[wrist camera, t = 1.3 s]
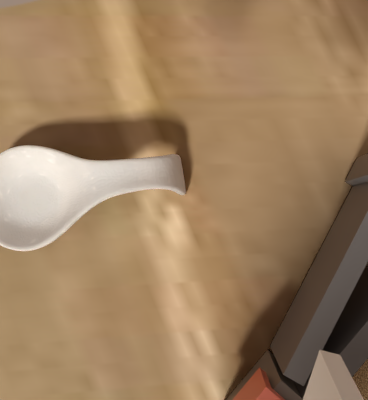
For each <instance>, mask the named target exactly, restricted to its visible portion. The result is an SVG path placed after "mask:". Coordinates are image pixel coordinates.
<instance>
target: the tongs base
mask: <svg viewBox="0 0 368 400" xmlns="http://www.w3.org/2000/svg"><path fill="white" fill-rule="evenodd" d="M323 351H327V352H331V353H335V354H339V355H340V356H341V357H342V359H343V361H344V363H345V365H346V367H347V369H348V371H349V373H350V374H351V376H352V377H353V375H354V374H355V373H356V372H357V371H358V369H359V368H360V367H361V366H362V365H363V364H364V362H365V361H366V360H367V359H368V266H367V267H366V268H365V269H364V270H363V272H362V274H361V276H360V278H359V280H358V282H357V284H356V286H355V288H354V290H353V291H352V293H351V295H350V297H349V299H348V301H347V303H346V305H345V307H344V309H343V311H342V313H341V315H340V317H339V319H338V321H337V323H336V324H335V326H334V328H333V330H332V332H331V334H330V336H329V338H328V340H327V342H326V344H325V346H324V348H323ZM259 367H260V368H261V369H262V370H264V371H265V372H266V374H267V377H268V379H269V382H270V385H271V388H272V389H274V390H275V391H276V392H277V393H278V394H279V395H280V396H281V397H283V398H284V399H285V400H303V397H304V394H305V391H306V388H307V385H308V382H309V380H310V377H311V374H312V371H313V369H312V371H311V373H310V375H309V377H308V379H307V381H306V383H305V385H304V386H302V385H300V384H299V383H297V382H295V381H293V380H292V379H290V378H288V377H286V376H285V375H283V373H282V371H281V369H280V367H279V365H278V362H277V360H276V358H275V356H274V355H273V354H272V353H271V352H270V351H269V350H267V351H266V352H265V353H264V355H263V356H262V357H261V358H260V359H259V361H258V362H257V363H256V364H255V365H254V367H253V368H252V369H251V370H250V371H249V373H248V374H247V375H246V376H245V377H244V379H243V380H242V381H241V382H240V383H239V384H238V386H237V387H236V388H235V389H234V390H233V392H232V393H231V394H230V395H229V396H228V398H227V399H226V400H233V398H234V397H235V396H236V395H237V394H238V392H239V391H240V390H241V389H242V388H243V386H244V385H245V384H246V383H247V382H248V381H249V379H250V378H251V377H252V376H253V375H254V373H255V372H256V371H257V370H258V369H259ZM313 368H314V367H313Z"/></svg>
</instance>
